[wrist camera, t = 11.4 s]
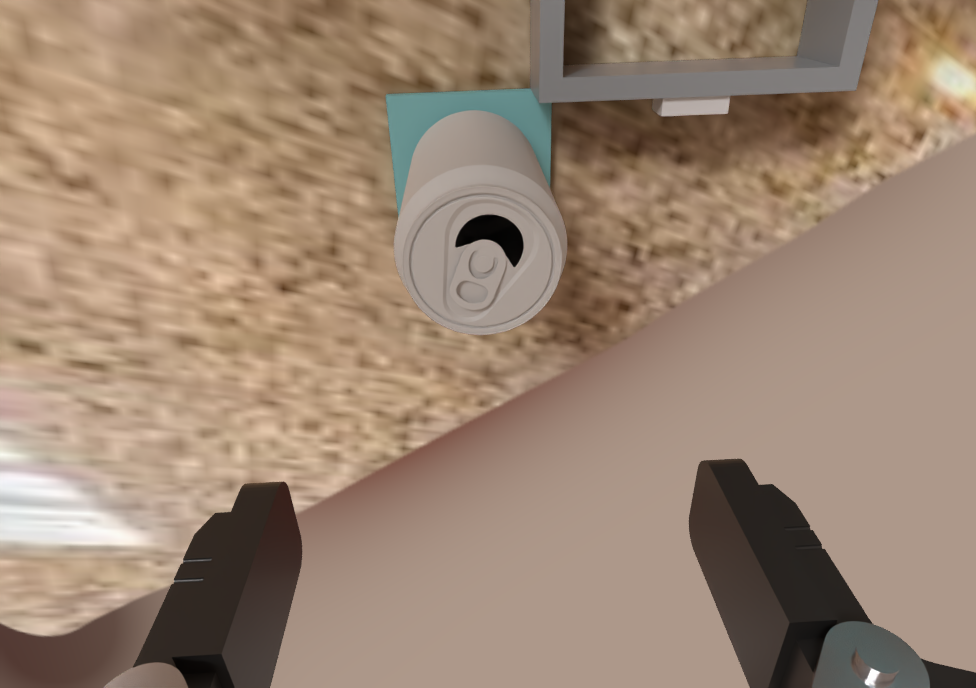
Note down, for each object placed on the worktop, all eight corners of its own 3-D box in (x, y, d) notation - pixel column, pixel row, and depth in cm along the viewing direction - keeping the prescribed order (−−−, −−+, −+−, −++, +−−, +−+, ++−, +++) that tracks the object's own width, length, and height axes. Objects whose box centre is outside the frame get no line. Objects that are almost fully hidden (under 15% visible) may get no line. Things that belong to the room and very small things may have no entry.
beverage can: (555, 134, 32) (605, 212, 21) (507, 248, 35) (530, 365, 24) (434, 86, 30) (424, 145, 20) (395, 209, 33) (368, 316, 23)
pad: (386, 94, 31) (385, 96, 31) (550, 87, 31) (552, 89, 31) (402, 248, 35) (402, 252, 35) (547, 241, 35) (549, 245, 35)
